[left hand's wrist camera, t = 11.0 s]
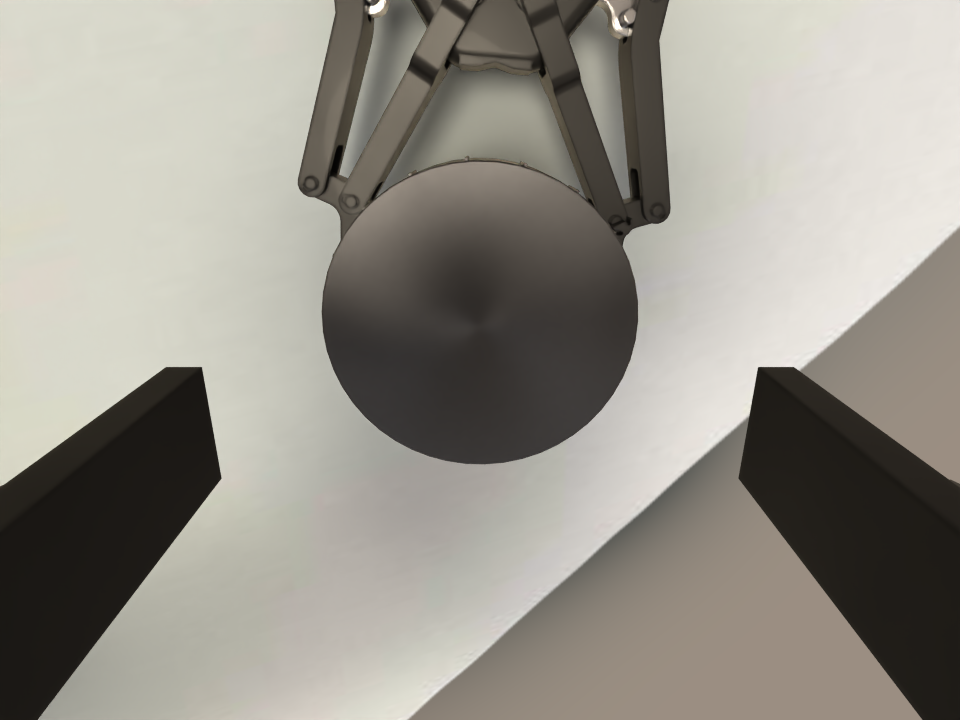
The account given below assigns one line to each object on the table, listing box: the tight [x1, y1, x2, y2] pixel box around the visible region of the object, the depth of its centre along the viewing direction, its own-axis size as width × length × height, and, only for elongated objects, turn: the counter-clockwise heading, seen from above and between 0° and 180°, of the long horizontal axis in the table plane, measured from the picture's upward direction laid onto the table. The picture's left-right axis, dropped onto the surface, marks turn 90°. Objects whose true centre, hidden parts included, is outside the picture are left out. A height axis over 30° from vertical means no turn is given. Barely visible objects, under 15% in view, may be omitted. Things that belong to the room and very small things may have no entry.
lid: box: [322, 156, 638, 464], centre depth 21 cm, size 10×11×2 cm
